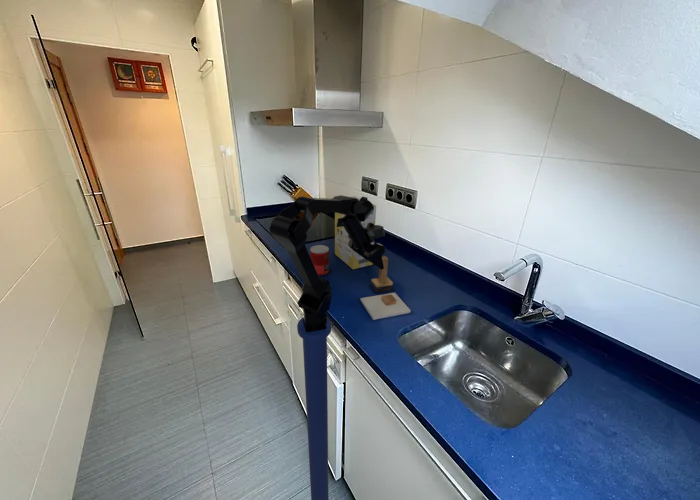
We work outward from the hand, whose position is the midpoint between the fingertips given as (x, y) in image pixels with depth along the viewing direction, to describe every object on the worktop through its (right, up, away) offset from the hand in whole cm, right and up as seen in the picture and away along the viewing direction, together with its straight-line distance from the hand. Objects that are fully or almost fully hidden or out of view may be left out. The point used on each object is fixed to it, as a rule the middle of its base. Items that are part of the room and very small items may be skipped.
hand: (376, 264), depth 101 cm
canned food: (-22, -4, +23) cm, 32 cm away
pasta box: (-8, +1, +35) cm, 36 cm away
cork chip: (+5, -13, +1) cm, 14 cm away
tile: (+3, -15, 0) cm, 15 cm away
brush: (+3, -10, +11) cm, 15 cm away
